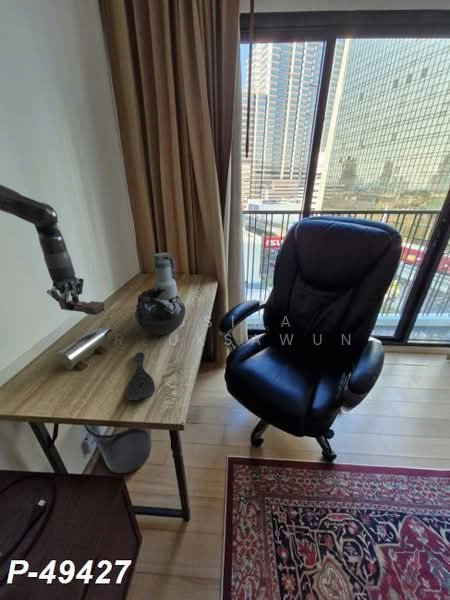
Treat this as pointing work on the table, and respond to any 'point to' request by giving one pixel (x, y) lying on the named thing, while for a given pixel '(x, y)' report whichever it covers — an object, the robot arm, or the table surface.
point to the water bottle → (165, 275)
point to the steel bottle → (84, 349)
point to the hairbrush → (140, 382)
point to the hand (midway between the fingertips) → (73, 307)
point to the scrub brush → (85, 307)
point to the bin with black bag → (159, 312)
